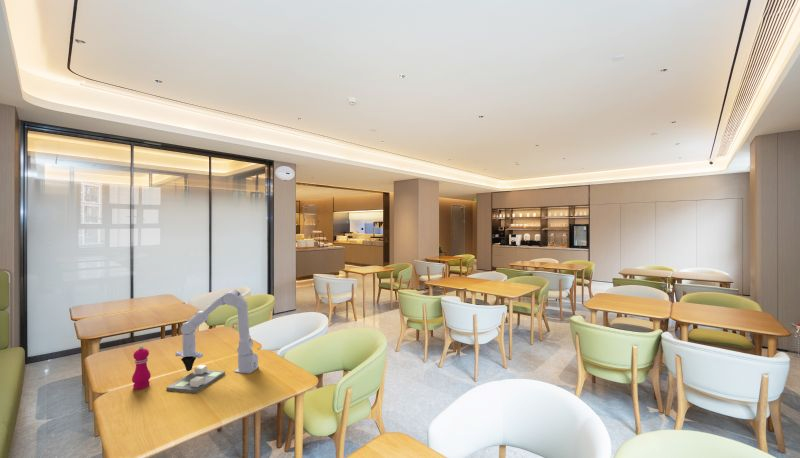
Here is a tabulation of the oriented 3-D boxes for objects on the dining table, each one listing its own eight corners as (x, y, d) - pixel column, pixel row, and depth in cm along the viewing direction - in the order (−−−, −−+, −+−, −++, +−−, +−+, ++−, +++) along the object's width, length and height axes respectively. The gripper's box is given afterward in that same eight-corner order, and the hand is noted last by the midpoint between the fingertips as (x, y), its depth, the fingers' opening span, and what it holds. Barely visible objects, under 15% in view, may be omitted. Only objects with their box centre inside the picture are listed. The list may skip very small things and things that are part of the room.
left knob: (203, 383, 163) (203, 377, 163) (197, 387, 159) (197, 380, 159) (196, 382, 164) (196, 376, 164) (190, 386, 160) (190, 380, 160)
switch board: (225, 374, 177) (225, 371, 177) (196, 393, 157) (196, 389, 157) (198, 372, 180) (198, 368, 180) (166, 390, 160) (166, 386, 160)
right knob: (207, 371, 176) (207, 365, 176) (201, 374, 172) (201, 368, 172) (200, 370, 177) (200, 364, 177) (194, 373, 173) (194, 368, 173)
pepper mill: (140, 391, 159) (140, 349, 159) (128, 389, 161) (127, 348, 160) (154, 383, 166) (154, 343, 166) (142, 382, 168) (142, 342, 167)
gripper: (170, 346, 173) (170, 372, 173) (195, 348, 170) (195, 374, 171) (181, 341, 180) (181, 366, 180) (205, 343, 177) (205, 368, 178)
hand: (189, 370), depth 176 cm, fingers closed
